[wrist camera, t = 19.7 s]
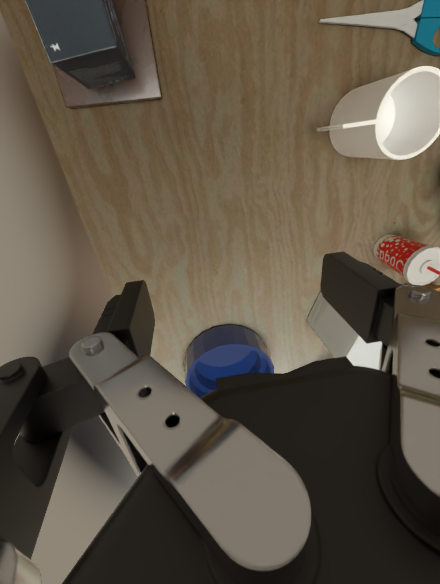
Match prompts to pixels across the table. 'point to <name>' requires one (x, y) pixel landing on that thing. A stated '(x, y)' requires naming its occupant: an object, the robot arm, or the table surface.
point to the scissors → (403, 23)
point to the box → (83, 39)
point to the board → (142, 58)
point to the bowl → (224, 357)
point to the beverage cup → (409, 258)
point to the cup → (388, 116)
